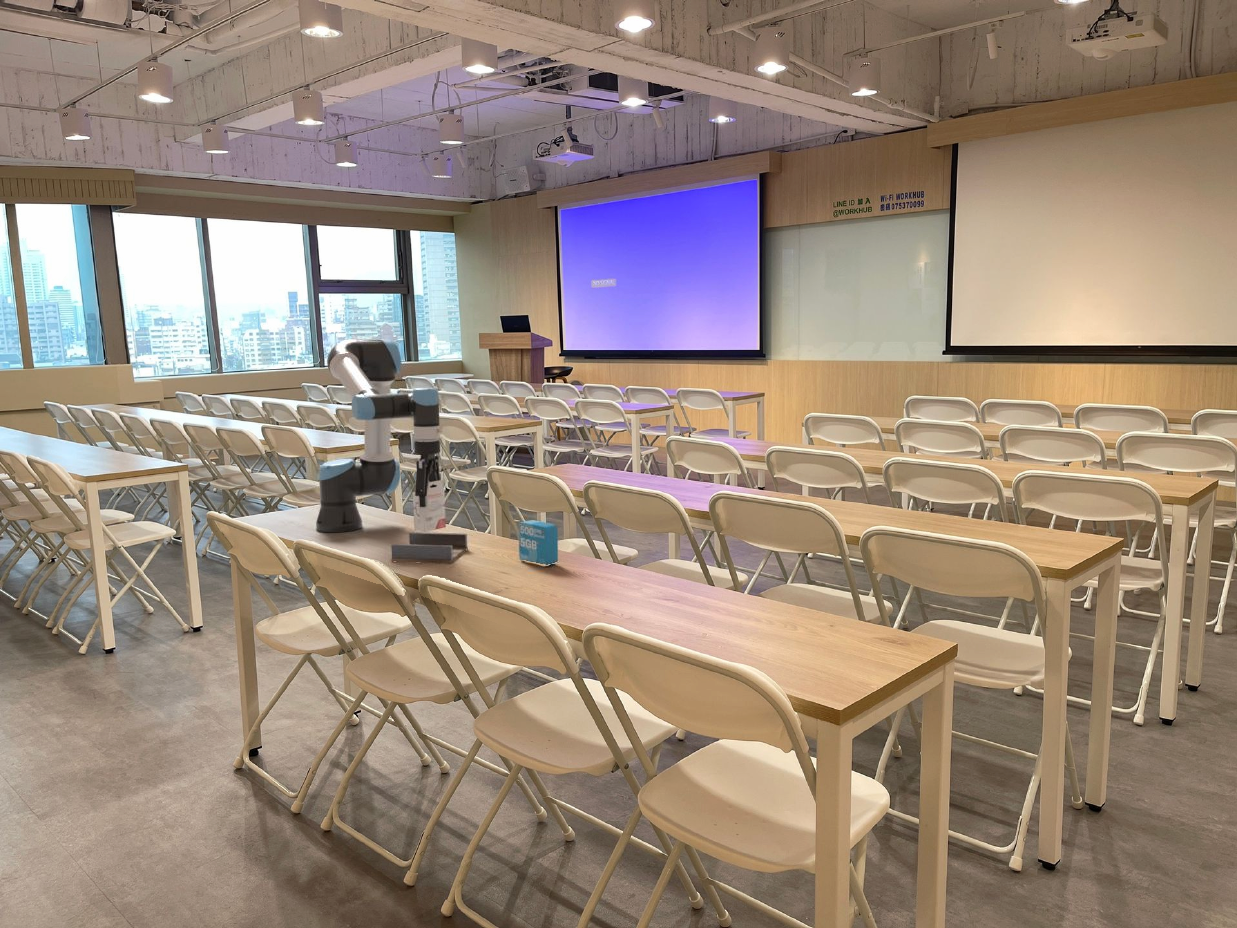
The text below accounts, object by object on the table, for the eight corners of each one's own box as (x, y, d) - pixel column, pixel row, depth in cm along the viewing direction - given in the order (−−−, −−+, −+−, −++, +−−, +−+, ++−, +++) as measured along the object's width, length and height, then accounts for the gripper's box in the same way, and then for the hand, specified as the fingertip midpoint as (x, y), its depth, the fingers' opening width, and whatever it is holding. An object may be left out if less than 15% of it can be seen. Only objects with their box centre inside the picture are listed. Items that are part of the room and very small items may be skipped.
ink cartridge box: (435, 525, 274) (433, 478, 272) (446, 527, 271) (444, 479, 269) (413, 530, 267) (411, 481, 265) (424, 532, 264) (422, 483, 262)
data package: (518, 561, 264) (518, 521, 262) (530, 558, 267) (529, 519, 265) (547, 568, 256) (546, 527, 254) (558, 565, 259) (558, 524, 258)
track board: (411, 547, 280) (411, 531, 279) (467, 548, 278) (467, 533, 277) (391, 561, 262) (390, 545, 262) (450, 563, 260) (450, 547, 260)
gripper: (427, 444, 254) (429, 522, 257) (450, 435, 276) (452, 507, 279) (402, 444, 255) (404, 521, 258) (426, 435, 276) (428, 506, 280)
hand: (429, 513), depth 268 cm, fingers closed on ink cartridge box, 9 cm apart
